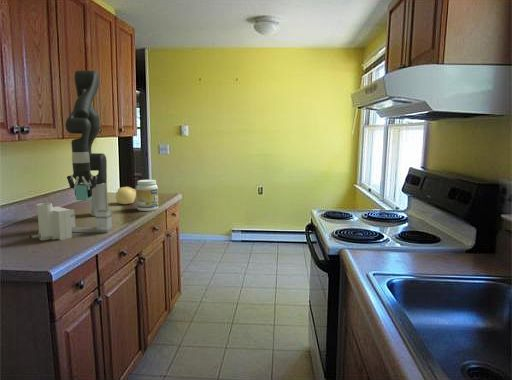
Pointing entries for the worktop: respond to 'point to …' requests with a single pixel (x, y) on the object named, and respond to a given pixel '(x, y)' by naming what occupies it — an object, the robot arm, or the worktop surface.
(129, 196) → the pale yellow ball
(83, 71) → the robot arm
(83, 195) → the block
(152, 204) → the supplement tub
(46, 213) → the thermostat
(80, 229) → the rail
